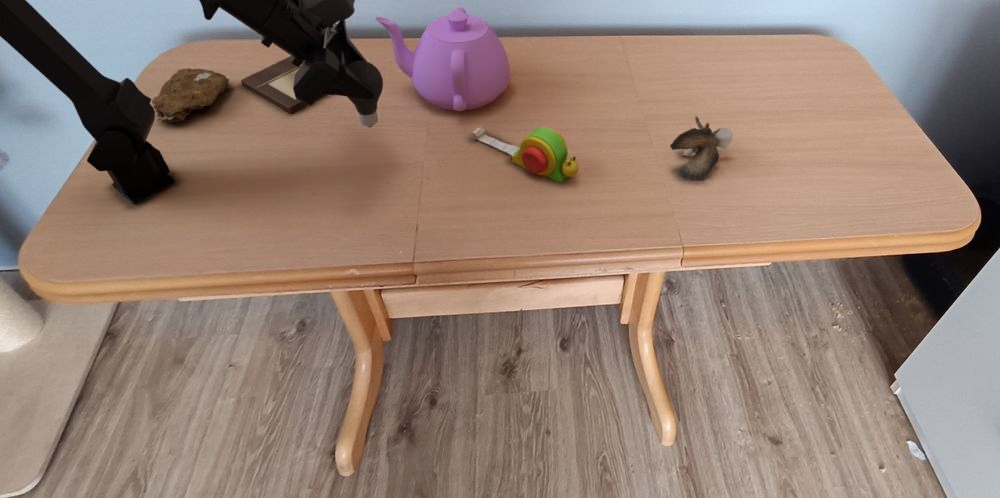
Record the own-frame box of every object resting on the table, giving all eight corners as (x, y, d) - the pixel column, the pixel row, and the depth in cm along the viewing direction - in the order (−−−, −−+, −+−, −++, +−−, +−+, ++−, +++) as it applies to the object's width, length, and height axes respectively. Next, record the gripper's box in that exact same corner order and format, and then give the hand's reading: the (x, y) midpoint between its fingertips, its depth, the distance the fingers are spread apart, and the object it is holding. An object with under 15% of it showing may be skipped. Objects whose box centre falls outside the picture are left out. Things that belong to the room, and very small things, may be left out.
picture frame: (291, 114, 99) (289, 107, 98) (242, 86, 105) (240, 79, 104) (362, 75, 107) (361, 68, 106) (313, 51, 113) (311, 44, 112)
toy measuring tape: (563, 195, 85) (567, 159, 80) (462, 144, 93) (460, 109, 88) (587, 173, 88) (592, 137, 83) (488, 126, 96) (487, 91, 92)
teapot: (392, 60, 111) (381, -13, 101) (506, 57, 111) (507, -16, 101) (381, 129, 96) (366, 51, 86) (513, 125, 96) (514, 47, 86)
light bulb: (396, 120, 86) (387, 58, 79) (375, 141, 83) (363, 78, 75) (365, 111, 88) (353, 49, 80) (342, 130, 84) (328, 67, 77)
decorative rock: (211, 131, 96) (240, 85, 107) (204, 109, 93) (234, 64, 104) (141, 128, 96) (176, 82, 106) (131, 106, 93) (169, 61, 103)
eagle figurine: (676, 131, 93) (656, 151, 87) (712, 103, 88) (693, 122, 82) (706, 167, 94) (688, 190, 87) (744, 142, 88) (727, 164, 82)
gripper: (298, -5, 61) (414, 81, 71) (309, -69, 74) (406, 11, 83) (244, 68, 66) (359, 139, 76) (263, -3, 79) (359, 66, 88)
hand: (372, 85), depth 80 cm, fingers closed on light bulb, 5 cm apart
